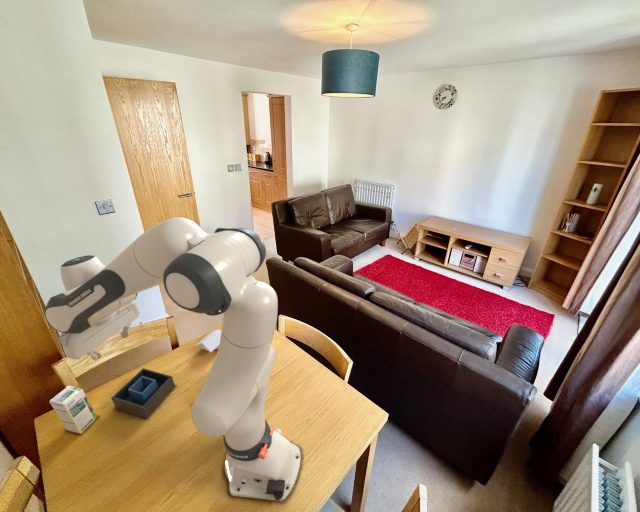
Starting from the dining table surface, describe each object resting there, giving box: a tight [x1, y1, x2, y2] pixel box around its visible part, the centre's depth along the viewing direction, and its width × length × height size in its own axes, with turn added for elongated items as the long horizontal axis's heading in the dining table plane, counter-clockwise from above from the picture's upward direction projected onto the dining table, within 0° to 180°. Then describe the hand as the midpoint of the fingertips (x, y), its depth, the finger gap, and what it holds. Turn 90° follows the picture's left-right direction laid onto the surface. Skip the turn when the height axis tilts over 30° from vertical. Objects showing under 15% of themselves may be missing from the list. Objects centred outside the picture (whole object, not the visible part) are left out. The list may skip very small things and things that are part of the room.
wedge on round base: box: [194, 329, 222, 353], centre depth 122 cm, size 9×7×13 cm
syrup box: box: [49, 385, 98, 435], centre depth 87 cm, size 6×6×14 cm
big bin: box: [111, 367, 176, 419], centre depth 98 cm, size 13×13×6 cm
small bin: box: [128, 376, 158, 405], centre depth 98 cm, size 6×6×6 cm
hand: (112, 347), depth 82 cm, fingers open, 8 cm apart
